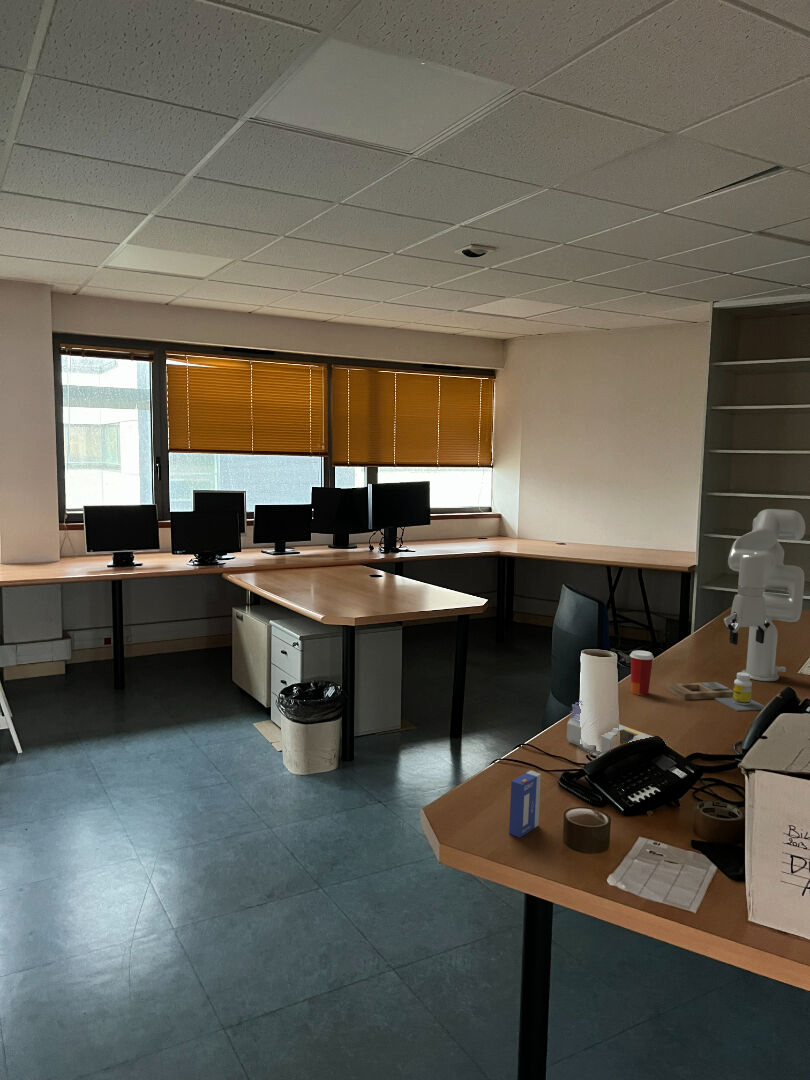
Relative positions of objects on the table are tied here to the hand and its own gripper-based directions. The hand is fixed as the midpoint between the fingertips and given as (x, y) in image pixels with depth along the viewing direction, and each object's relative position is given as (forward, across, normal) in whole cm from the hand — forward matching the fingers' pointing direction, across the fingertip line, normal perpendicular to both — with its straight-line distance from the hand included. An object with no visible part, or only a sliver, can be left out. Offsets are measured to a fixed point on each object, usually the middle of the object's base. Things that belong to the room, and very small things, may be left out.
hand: (746, 643), depth 254 cm
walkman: (+18, +104, +70) cm, 126 cm away
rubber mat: (+20, +1, +1) cm, 21 cm away
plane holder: (+21, +8, -12) cm, 25 cm away
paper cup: (+21, +29, -15) cm, 38 cm away
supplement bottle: (+20, 0, 0) cm, 20 cm away
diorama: (+20, +63, +33) cm, 74 cm away
